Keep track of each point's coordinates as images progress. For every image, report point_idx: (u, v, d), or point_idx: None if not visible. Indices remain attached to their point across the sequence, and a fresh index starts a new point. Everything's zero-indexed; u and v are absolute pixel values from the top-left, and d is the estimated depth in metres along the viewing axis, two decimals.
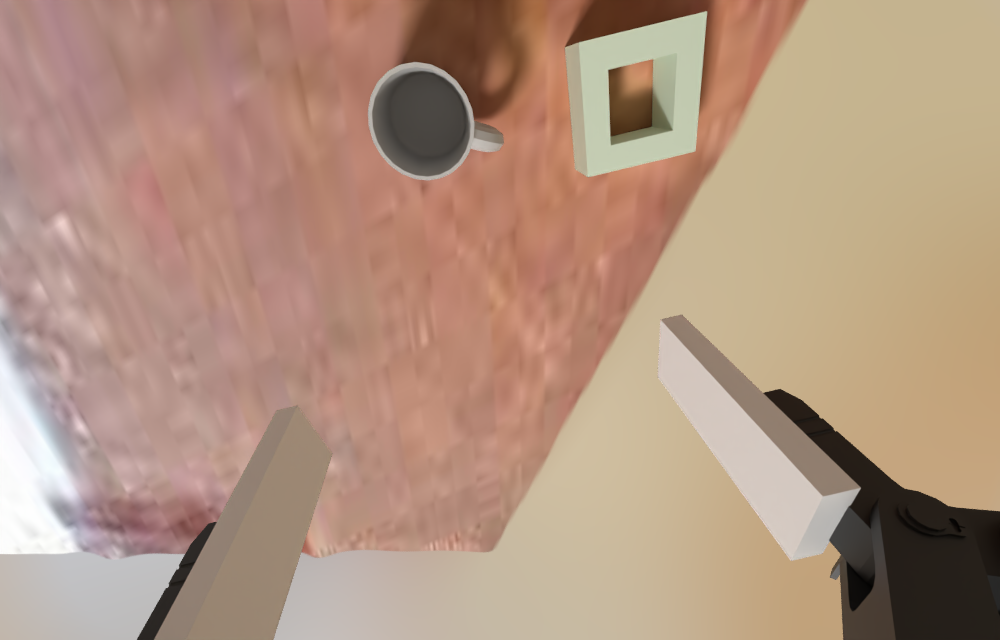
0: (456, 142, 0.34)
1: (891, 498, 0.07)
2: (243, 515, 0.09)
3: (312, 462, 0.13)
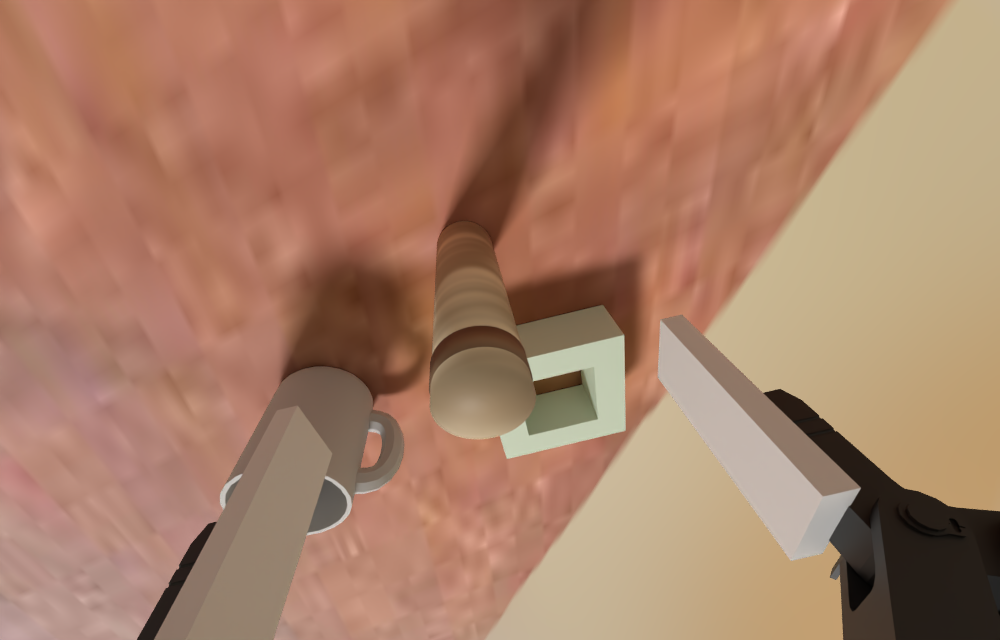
0: None
1: (891, 498, 0.07)
2: (243, 515, 0.09)
3: (312, 462, 0.13)
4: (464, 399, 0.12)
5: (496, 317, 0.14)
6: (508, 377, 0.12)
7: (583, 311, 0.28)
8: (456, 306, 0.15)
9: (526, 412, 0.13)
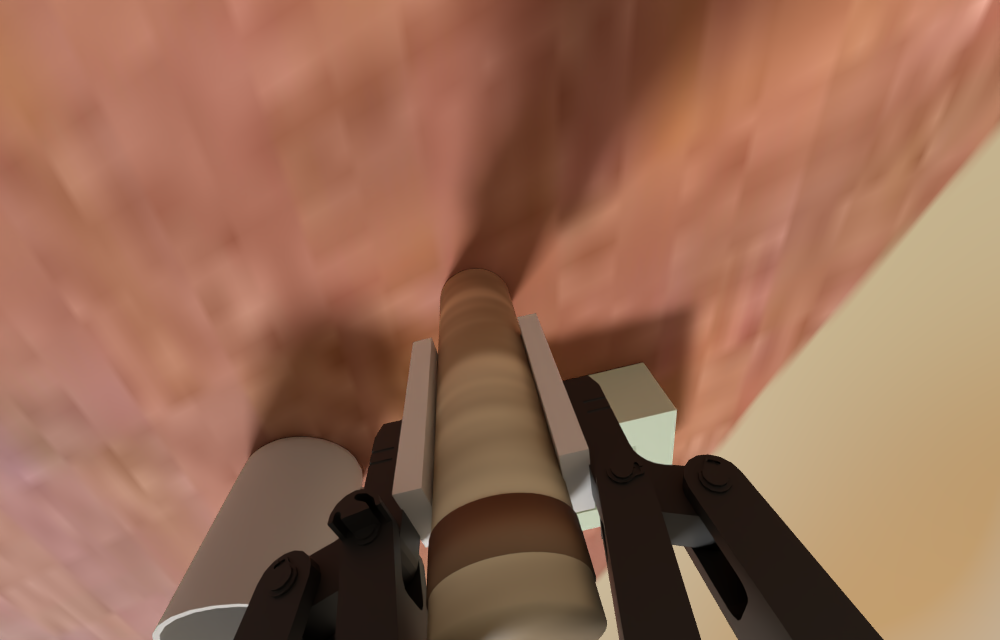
0: None
1: (602, 463, 0.09)
2: (425, 410, 0.11)
3: None
4: None
5: (533, 463, 0.09)
6: (564, 613, 0.07)
7: (619, 371, 0.23)
8: (469, 437, 0.10)
9: None
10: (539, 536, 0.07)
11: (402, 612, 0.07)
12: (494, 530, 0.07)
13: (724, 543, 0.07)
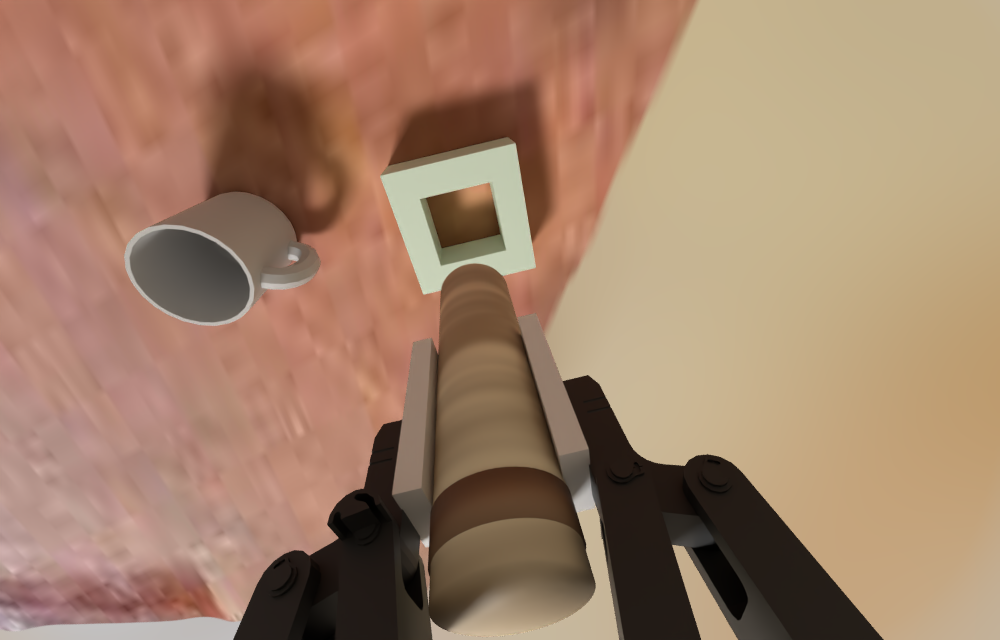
0: None
1: (602, 463, 0.09)
2: (425, 410, 0.11)
3: None
4: (483, 600, 0.08)
5: (528, 441, 0.09)
6: (555, 572, 0.07)
7: (488, 142, 0.29)
8: (468, 418, 0.10)
9: (578, 604, 0.08)
10: (533, 504, 0.08)
11: (402, 612, 0.07)
12: (491, 499, 0.08)
13: (724, 543, 0.07)
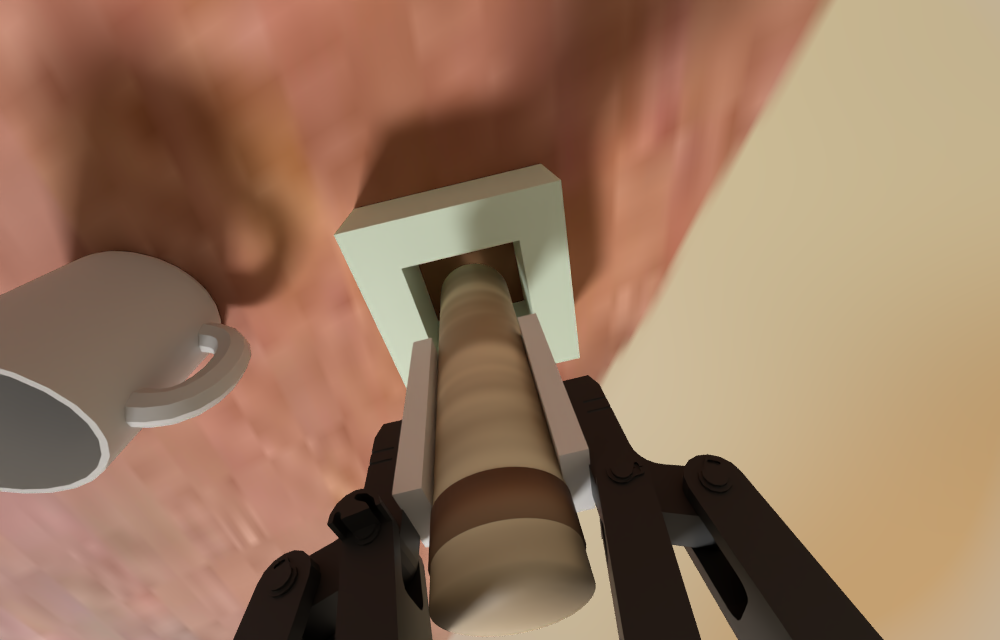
0: None
1: (602, 463, 0.09)
2: (425, 410, 0.11)
3: None
4: (483, 600, 0.08)
5: (528, 441, 0.09)
6: (555, 573, 0.07)
7: (511, 172, 0.19)
8: (468, 418, 0.10)
9: (578, 604, 0.08)
10: (533, 504, 0.08)
11: (402, 612, 0.07)
12: (491, 499, 0.08)
13: (724, 543, 0.07)
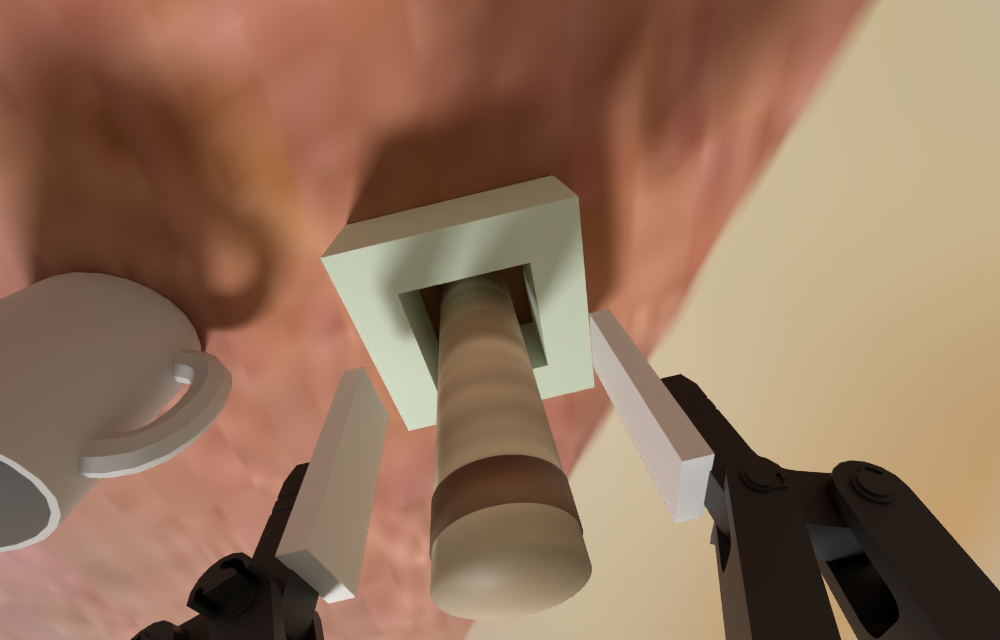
0: None
1: (735, 465, 0.08)
2: (334, 453, 0.11)
3: (376, 419, 0.14)
4: (483, 582, 0.08)
5: (527, 431, 0.10)
6: (552, 555, 0.08)
7: (520, 184, 0.17)
8: (468, 409, 0.10)
9: (575, 587, 0.09)
10: (531, 490, 0.08)
11: None
12: (491, 485, 0.08)
13: (878, 553, 0.06)
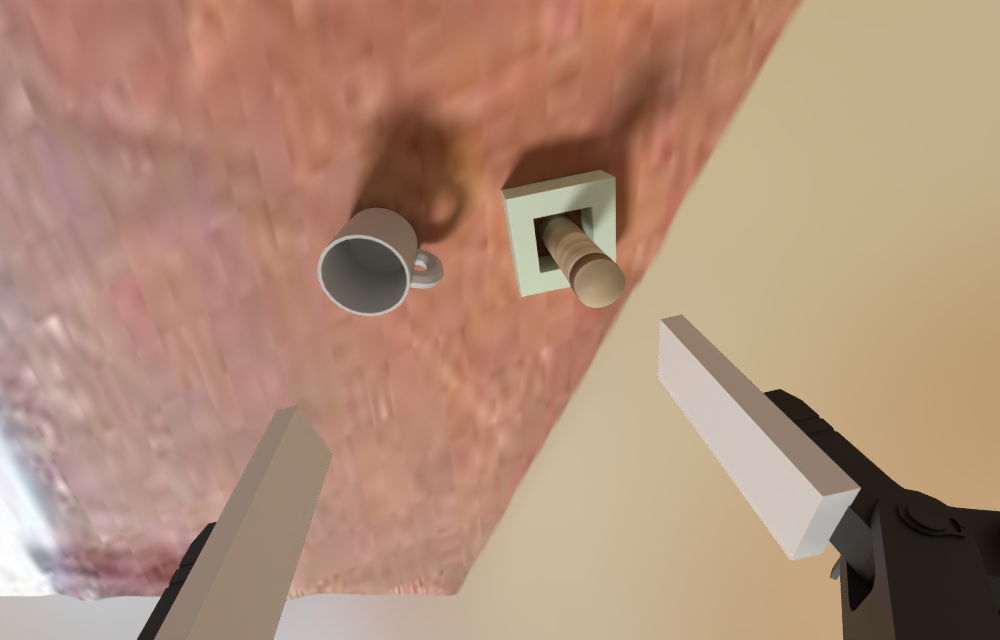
0: None
1: (891, 498, 0.07)
2: (243, 515, 0.09)
3: (312, 462, 0.13)
4: (593, 283, 0.27)
5: (601, 251, 0.29)
6: (614, 272, 0.26)
7: (585, 173, 0.36)
8: (579, 247, 0.29)
9: (618, 293, 0.27)
10: (607, 258, 0.27)
11: None
12: (594, 256, 0.27)
13: None
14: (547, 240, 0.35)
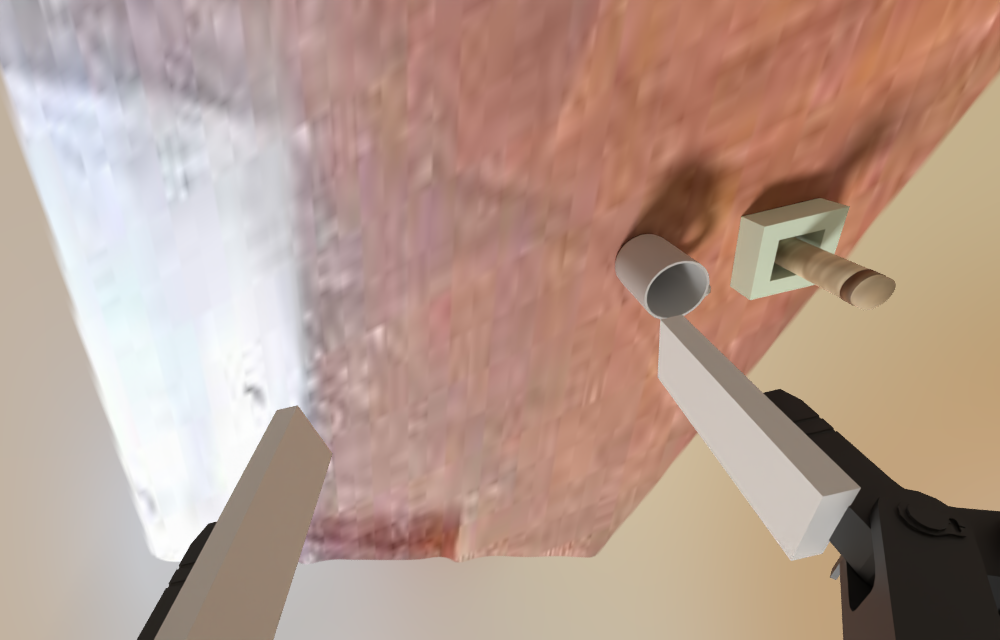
0: None
1: (891, 498, 0.07)
2: (243, 515, 0.09)
3: (312, 462, 0.13)
4: (872, 292, 0.36)
5: (864, 267, 0.38)
6: (890, 284, 0.36)
7: (809, 201, 0.45)
8: (843, 264, 0.39)
9: (886, 298, 0.37)
10: None
11: None
12: (870, 272, 0.37)
13: None
14: (784, 256, 0.45)
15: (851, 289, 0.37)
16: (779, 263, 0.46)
